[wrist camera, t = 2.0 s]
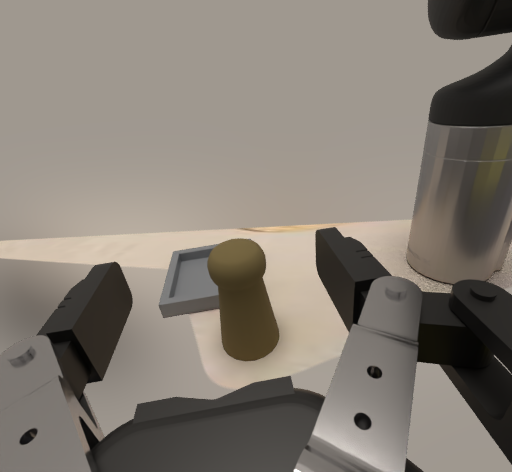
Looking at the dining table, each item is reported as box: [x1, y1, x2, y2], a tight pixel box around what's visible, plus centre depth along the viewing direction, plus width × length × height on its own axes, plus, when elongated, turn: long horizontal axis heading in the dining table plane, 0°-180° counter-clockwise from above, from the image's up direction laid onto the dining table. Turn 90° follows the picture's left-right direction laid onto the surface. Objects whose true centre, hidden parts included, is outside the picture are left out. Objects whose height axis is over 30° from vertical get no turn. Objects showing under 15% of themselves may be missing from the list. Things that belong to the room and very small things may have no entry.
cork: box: [207, 239, 279, 361], centre depth 27 cm, size 6×6×11 cm
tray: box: [159, 239, 251, 318], centre depth 38 cm, size 12×12×2 cm
